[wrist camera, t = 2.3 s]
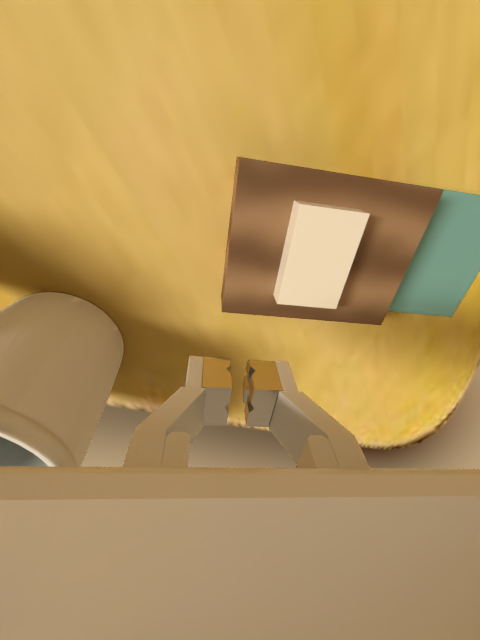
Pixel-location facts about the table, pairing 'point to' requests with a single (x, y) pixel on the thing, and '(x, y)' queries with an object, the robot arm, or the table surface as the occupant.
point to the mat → (443, 259)
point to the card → (318, 254)
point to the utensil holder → (54, 378)
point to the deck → (329, 189)
